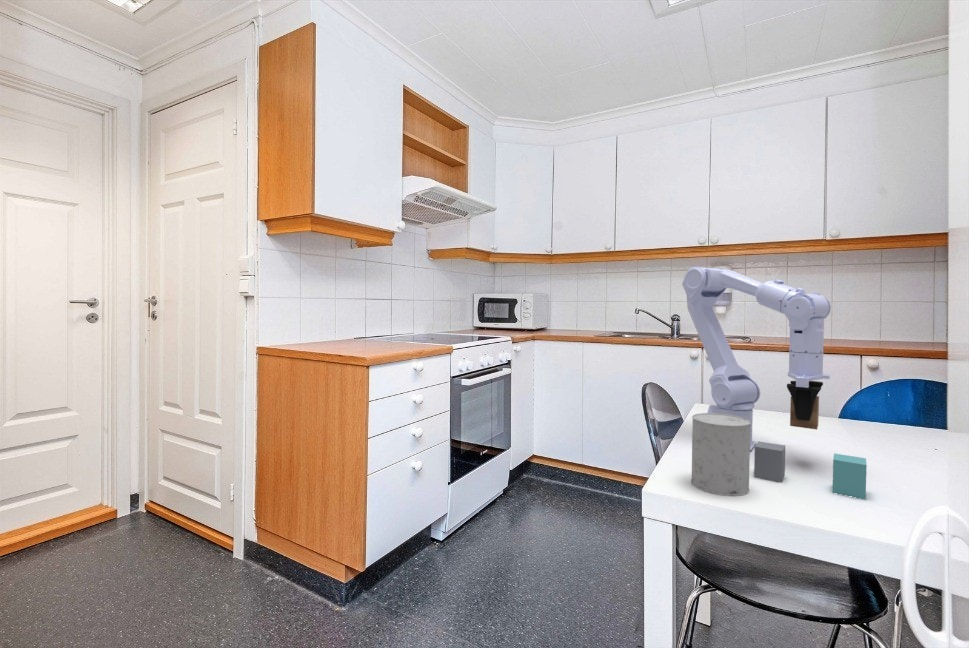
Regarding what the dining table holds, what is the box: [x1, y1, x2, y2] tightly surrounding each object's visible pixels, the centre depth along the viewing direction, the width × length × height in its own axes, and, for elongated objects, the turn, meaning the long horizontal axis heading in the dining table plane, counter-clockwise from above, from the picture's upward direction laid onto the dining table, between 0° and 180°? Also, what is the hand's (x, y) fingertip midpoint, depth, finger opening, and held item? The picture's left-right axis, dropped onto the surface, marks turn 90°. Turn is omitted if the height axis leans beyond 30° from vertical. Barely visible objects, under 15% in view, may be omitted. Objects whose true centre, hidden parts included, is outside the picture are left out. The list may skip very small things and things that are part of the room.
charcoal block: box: [753, 441, 786, 484], centre depth 88 cm, size 4×4×6 cm
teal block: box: [831, 453, 868, 500], centre depth 81 cm, size 4×4×6 cm
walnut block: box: [789, 395, 820, 430], centre depth 95 cm, size 4×4×6 cm
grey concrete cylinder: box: [690, 412, 751, 497], centre depth 84 cm, size 10×10×12 cm
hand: (804, 417), depth 95 cm, fingers closed on walnut block, 4 cm apart
